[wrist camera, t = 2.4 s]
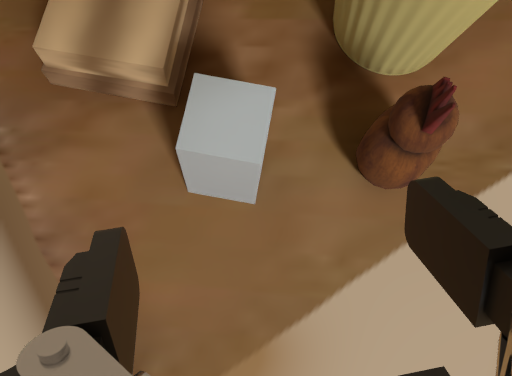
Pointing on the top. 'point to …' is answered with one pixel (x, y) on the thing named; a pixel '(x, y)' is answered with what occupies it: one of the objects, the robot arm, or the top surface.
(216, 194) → the block
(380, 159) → the wooden figurine
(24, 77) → the top surface
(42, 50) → the tower top
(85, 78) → the tower base
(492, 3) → the potted cactus
